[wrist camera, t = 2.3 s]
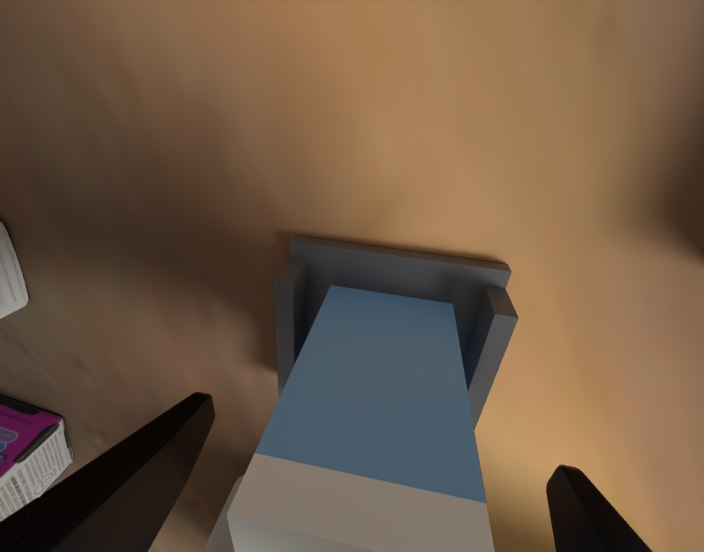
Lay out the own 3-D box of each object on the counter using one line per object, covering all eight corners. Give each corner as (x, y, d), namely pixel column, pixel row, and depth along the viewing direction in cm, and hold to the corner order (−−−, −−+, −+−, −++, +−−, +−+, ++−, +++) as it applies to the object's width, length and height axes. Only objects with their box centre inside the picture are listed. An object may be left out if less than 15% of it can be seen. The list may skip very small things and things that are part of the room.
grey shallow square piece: (457, 411, 14) (462, 458, 12) (296, 381, 14) (280, 421, 13) (507, 264, 10) (525, 298, 8) (294, 235, 11) (271, 261, 9)
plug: (429, 390, 13) (440, 666, 7) (326, 372, 13) (247, 613, 7) (452, 303, 11) (499, 580, 5) (331, 285, 11) (226, 514, 5)
